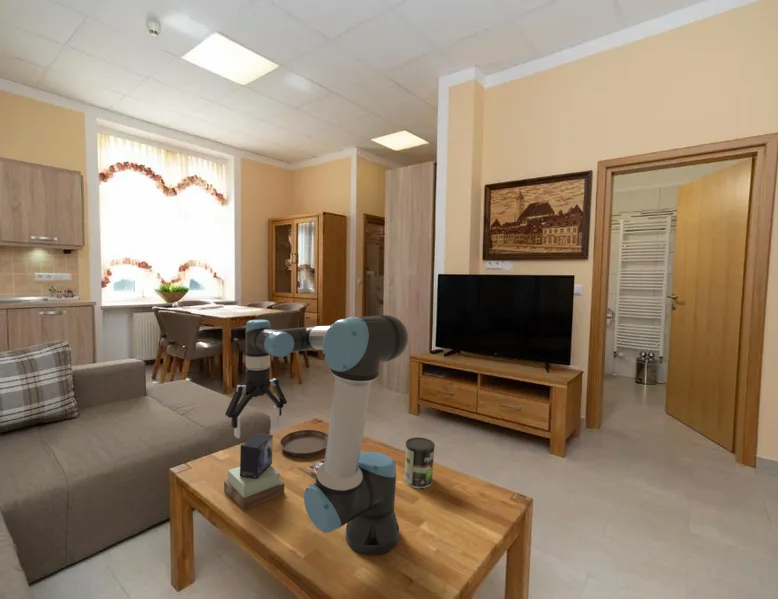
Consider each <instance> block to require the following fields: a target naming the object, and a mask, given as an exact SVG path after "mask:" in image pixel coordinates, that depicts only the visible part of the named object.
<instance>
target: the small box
mask: <svg viewBox="0 0 778 599" xmlns="http://www.w3.org/2000/svg"><path fill="white" fill-rule="evenodd" d="M273 438H274V436H273V434H267V433H261V432H255V433H254V435H252V436H251V437H249V438H248V439H246V441H244V442H243V443H242V444H240V450H239V451H240V452H239V453H240V455H239V456H240V458H239V459H240V461H239V463H240V464H239V467H240V476H241V477H248V478H255V479H257V478H258V477H259V476H260V475H261V474H262V473H263V472H264V471H265V470H266V469H267V468H268V467H269V466H272V464H273Z"/></svg>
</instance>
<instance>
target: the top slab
mask: <svg viewBox="0 0 778 599" xmlns="http://www.w3.org/2000/svg"><path fill="white" fill-rule="evenodd" d="M227 474H228V475H227V480H228V482H229V483H230V485H231V486H232V487H233V488H234V489H235V490H236V491H237V492H238V493H239V494H240V495H241V496H242V497H243V498H246V497H249V496H251V495H254V494H256V493H259V492H261V491H264V490H266V489H269V488H272V487H274V486H277V485H279V479H280V472H279V471H278V470H277V469H275V468H274V467H273V466H272V465H270V466H269V467H268V468H267V469H266V470H265V471H264V472H263V473H262V474H261V475H260V476H259V477H258V478H257V479H255V478H248V477H241V476H240V466H237V467H235V468H231V469H229V470H228V471H227Z"/></svg>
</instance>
